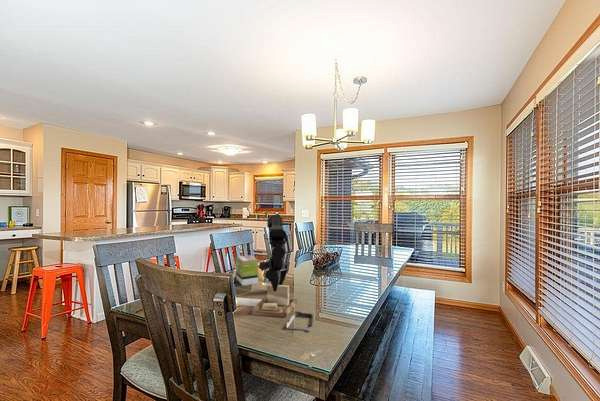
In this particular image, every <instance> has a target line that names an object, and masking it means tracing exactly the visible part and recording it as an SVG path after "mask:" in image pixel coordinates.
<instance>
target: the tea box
mask: <svg viewBox="0 0 600 401" xmlns="http://www.w3.org/2000/svg"><path fill="white" fill-rule="evenodd" d="M235 264H236V266H235V267H236V280H237V282H239V283H240V284H241V286H242V287H244V286H248V285H249V286H250V285H257V284H258V283H259V265H258V264H259V263H258V259H257V258H256V257H255V256H254V255H251V254H249V255H240V256H236V257H235Z"/></svg>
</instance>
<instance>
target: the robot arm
mask: <svg viewBox="0 0 600 401" xmlns="http://www.w3.org/2000/svg"><path fill="white" fill-rule="evenodd" d="M283 222H284V220H283V218H282V217H281V215H280V214H271V215H270V217H268V218H267V222H266V223H267V224H266V225H267V228H268V244H269V245H270V250H271V252H270V253H271V254H270V256H271V257H270V258H269V260H266V261H261V262H259V265H258V269H260V270H261V272H263V271H265V270H267V269H268V270H267V271H266V272H264V278H265V279H267V280H268V283H269V282H270V285H272V287H273V291H275V292H276V290H277V287H278V285H284V282H285V281H286V276H287V274H288V271H289V270H290V264H289V263H287V262H284V261H285V259H286V257H285V255H286V251H285V249H284V245H286V244H287V242H288V238H287V237H288V236H287V232H286V230H285V229H284V224H283Z"/></svg>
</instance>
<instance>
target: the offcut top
mask: <svg viewBox="0 0 600 401" xmlns="http://www.w3.org/2000/svg"><path fill="white" fill-rule="evenodd" d="M277 307H278V305H277V303H267V302H265V303H263V305H262V306H261V308H262V310H276V308H277Z"/></svg>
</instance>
